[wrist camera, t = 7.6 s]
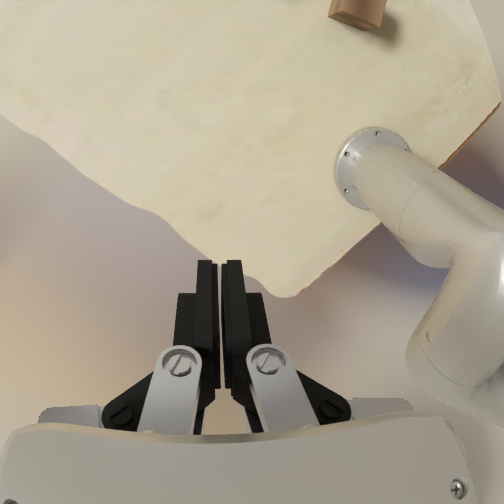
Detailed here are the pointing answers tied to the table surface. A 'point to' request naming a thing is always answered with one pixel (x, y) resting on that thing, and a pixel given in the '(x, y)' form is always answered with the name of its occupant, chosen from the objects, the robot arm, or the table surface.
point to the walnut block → (358, 12)
